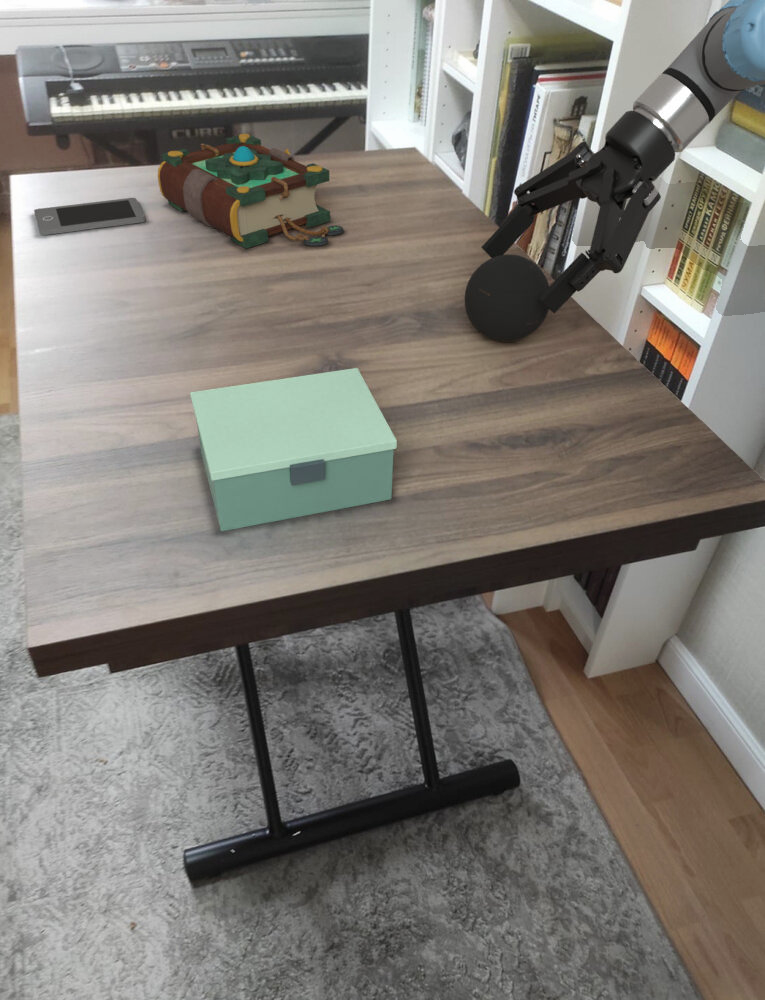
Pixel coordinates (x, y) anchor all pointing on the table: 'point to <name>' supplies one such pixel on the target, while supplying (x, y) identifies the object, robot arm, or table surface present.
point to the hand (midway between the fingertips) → (515, 279)
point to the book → (246, 190)
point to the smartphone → (88, 216)
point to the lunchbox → (293, 447)
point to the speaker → (506, 298)
